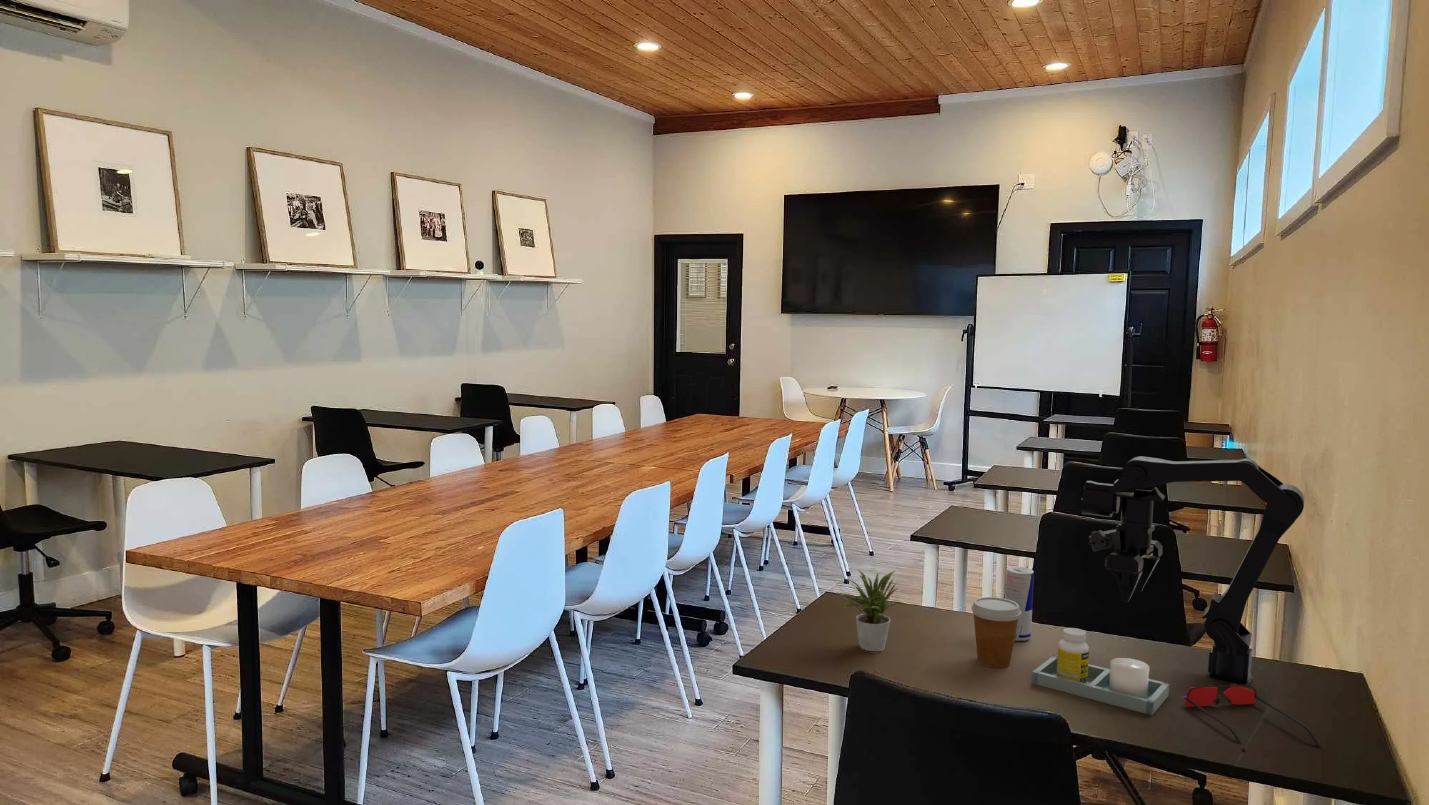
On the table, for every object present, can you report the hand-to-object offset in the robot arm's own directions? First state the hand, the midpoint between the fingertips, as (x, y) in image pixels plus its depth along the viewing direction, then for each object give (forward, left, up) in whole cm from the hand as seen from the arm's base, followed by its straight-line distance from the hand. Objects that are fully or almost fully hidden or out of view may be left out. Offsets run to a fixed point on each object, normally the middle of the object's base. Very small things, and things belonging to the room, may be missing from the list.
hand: (1132, 596), depth 188 cm
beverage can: (+22, +3, -13) cm, 26 cm away
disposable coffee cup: (+20, +20, -13) cm, 31 cm away
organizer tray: (-1, +22, -13) cm, 25 cm away
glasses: (-25, +20, -14) cm, 35 cm away
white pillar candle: (-6, +22, -12) cm, 26 cm away
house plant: (+43, +28, -13) cm, 53 cm away
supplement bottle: (+4, +22, -12) cm, 25 cm away
